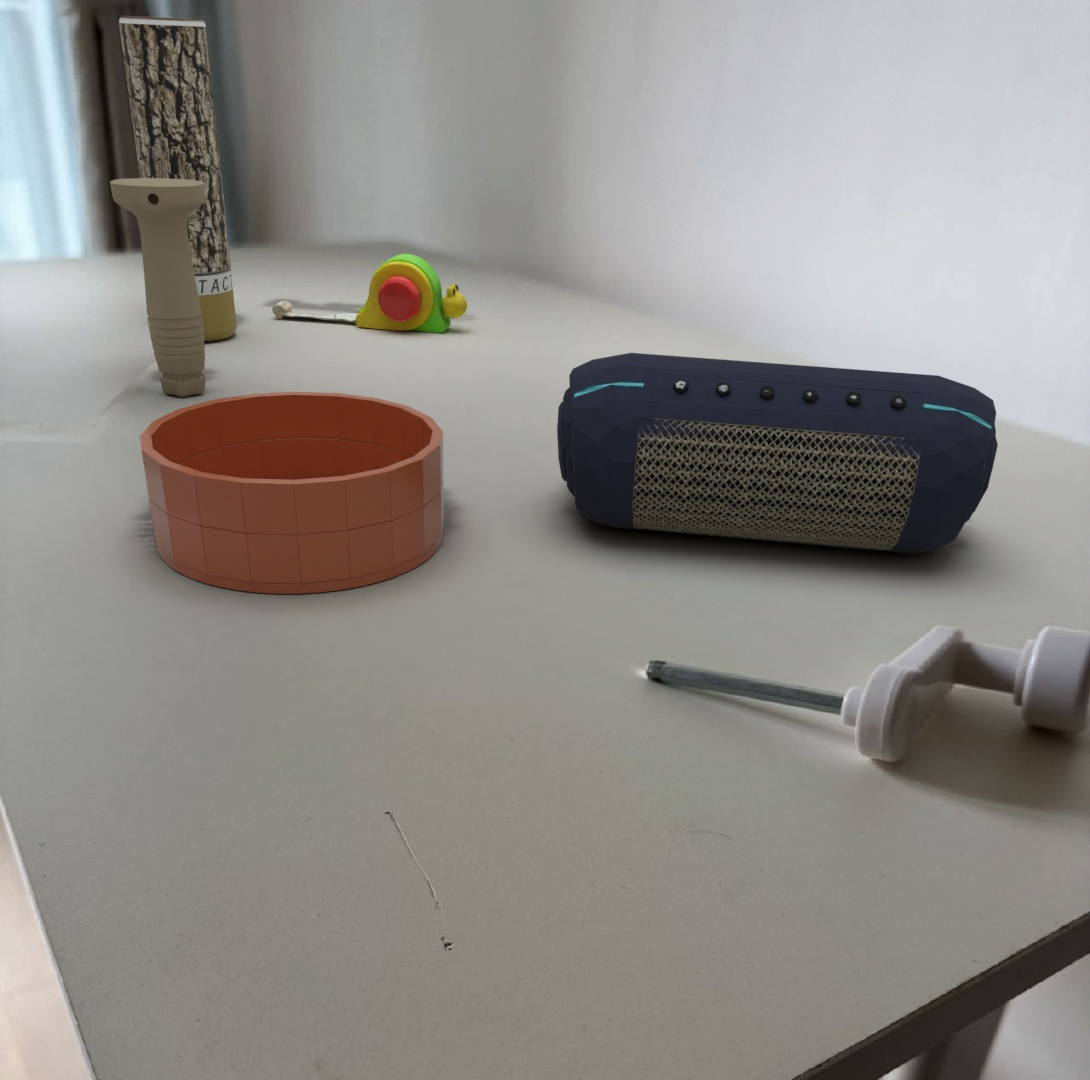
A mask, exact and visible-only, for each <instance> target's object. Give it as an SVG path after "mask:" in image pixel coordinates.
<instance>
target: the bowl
mask: <svg viewBox="0 0 1090 1080" xmlns="http://www.w3.org/2000/svg"><path fill="white" fill-rule="evenodd" d="M139 442H140V450H141V456H142V462H143V469H144V474H145V482H146V489H147V494H148V501H149V508H150V515H151V522H152V527H153V528H152V529H153V535H154V541H155V546H156V550H157V554H159V557H160V558H161V560H162V561H163V562H164V563H165V564H166V565H167V566H168V567H170V568H171V569H172V570H174V571H176V572H177V573H178V574H180V575H183V576H185V577H187V578H189V579H192V580H194V581H197V582H200V583H203V584H207V585H211V586H213V587H217V588H223V589H227V590H228V589H229V590H233V591H240V592H248V593H257V594H275V595H298V594H299V595H301V594H317V593H327V592H337V591H343V590H349V589H354V588H355V589H356V588H360V587H365V586H369V585H372V584H373V585H374V584H377V583H380V582H384V581H387V580H389V579H394V578H395V577H398V576H401V575H403V574H406V573H408V572H410V571H412V570H413V569H415V568H417V567H419V566H421V565H422V564H423V563H425V562H426V561H428V560H429V559H430V558H431V557H432V556H434V554H435V553H436V552H437V551H438V549H439V548H440V546H441V545H442V544H441V543H442V542H443V541H442V540H443V537H444V535H443V529H444V528H443V527H444V519H445V517H444V515H445V514H444V513H445V511H444V509H445V508H444V507H445V506H444V505H445V504H444V502H445V501H444V499H445V498H444V431H443V429H442V428H441V426H439V424H438V423H437V422H436V420H434V419H433V418H432V417H431V416H430V415H428V414H425V413H423V412H421V411H419V410H417V409H415V408H413V407H411V406H408V405H405V404H402V403H397V402H394V401H389V400H386V399H382V398H378V397H371V396H363V395H356V394H347V393H337V392H319V391H317V392H315V391H280V392H262V393H249V394H243V395H236V396H235V395H234V396H230V397H221V398H216V399H210V400H206V401H203V402H200V403H199V402H198V403H196V404H192V405H187V406H184V407H181V408H177V409H176V410H174V411H171V412H169V413H166V414H165V415H163V416H161V417H159V418H157V419H154V420H152V421H151V423H150V424H149V425H148V426H147V427H146V428H145V429H144V430H143V431H142V432H141V433H140V434H139Z"/></svg>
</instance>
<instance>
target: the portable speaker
mask: <svg viewBox="0 0 1090 1080" xmlns="http://www.w3.org/2000/svg"><path fill="white" fill-rule="evenodd" d="M568 377H569V378H568V379H569V387H568V388H567V389H566V390H565V391H564V394H563V397H562V401H561V402H560V404H559V406H558V409H557V410H558V411H557V426H556V436H557V437H556V438H557V457H558V465H559V469H560V476H561V478H562V480H563V481H564V482H566V488H567V490H568V491H569V493H571V495H572V496H573V497H574V506H575V508H576V510H577V511H578V514H580V515H583V516H584V517H586V518H588V519H589V520H591V521H593V522H594V523H596V524H600V525H602V526H607V527H611V528H616V529H631V530H643V531H652V532H664V533H665V532H666V533H675V534H687V535H688V534H689V535H697V536H698V535H699V536H711V537H721V538H732V539H743V540H756V541H766V542H778V543H789V544H800V545H801V544H802V545H811V546H821V547H822V546H823V547H835V548H845V549H855V550H856V549H857V550H869V551H881V552H890V553H900V554H918V553H919V554H920V553H929V552H931V551H933V550H935V549H938V548H941V547H943V546H946V545H949V544H951V543H953V542H955V541H956V539H957V537H958V536H959V534H960V533H961V531H962V529H963V527H964V526H965V523H967V522H968V521H970V519H971V517H972V516H973V514H974V513H975V512H976V511H977V508H978V507H979V504H980V503H981V501H982V499H983V497H984V496H985V493H986V492H987V490H988V488H989V484H990V481H991V476H992V473H993V469H994V464H995V461H996V455H997V450H998V447H999V444H998V440H997V436H996V435H997V430H996V417H997V409H996V405H995V402H994V400H993V399H992V398H991V397H989V396H988V395H986V394H985V393H983V392H982V391H980V390H979V389H977V388H976V387H973V386H970V385H968V384H964V383H962V382H959V381H955V380H952V379H949V378H948V377H943V376H941V375H937V374H923V373H908V372H896V371H895V372H894V371H884V370H883V371H881V370H867V369H855V368H840V367H829V366H815V365H801V364H787V363H774V362H761V361H746V360H733V359H722V358H706V357H705V358H704V357H695V356H694V357H693V356H681V355H680V356H679V355H666V354H655V353H654V354H652V353H642V352H641V353H638V352H627V353H621V354H615V355H610V356H605V357H599V358H594V359H591V360H589V361H585V362H584V363H582V364H580V365H577V366H575V367H574V368H572V369H571V371H570V373H569V375H568Z"/></svg>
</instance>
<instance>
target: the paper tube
mask: <svg viewBox="0 0 1090 1080" xmlns="http://www.w3.org/2000/svg"><path fill="white" fill-rule="evenodd" d="M206 25H207V24H206V23H205V21H204V20H203V19H199V18H182V17H179V18H178V17H161V16H136V15H133V16H131V15H122V16H120V17H119V21H118V29H119V34H120V42H121V49H122V55H123V56H122V57H123V61H124V62H123V63H124V72H125V77H126V85H127V92H128V100H129V106H130V115H131V120H132V128H133V129H132V130H133V137H134V143H135V151H136V158H137V165H138V173H139V178H164V179H185V180H196V181H202V182H204V188H205V202H204V203H203V204H202V205H201V206H200V207H198V208H197V209H195V210H194V211H192V212H191V213H190V214H189V215H188V216H187V231H188V238H189V244H190V250H191V256H192V263H193V269H194V274H195V280H196V285H197V290H198V296H199V301H200V307H201V312H202V313H201V316H202V320H203V323H202V324H203V328H204V332H203V333H204V341H206V342H215V340H216V341H221V340H226V339H229V338H231V337H232V336H233V335H235V333H236V331H237V327H238V325H237V316H236V306H235V296H234V284H233V274H232V268H231V267H232V265H231V263H232V262H231V254H230V245H229V234H228V225H227V224H228V223H227V216H226V206H225V205H226V204H225V197H224V196H225V195H224V187H223V186H224V185H223V175H222V166H221V156H220V148H219V146H220V145H219V137H218V127H217V119H216V117H217V116H216V109H215V99H214V98H215V97H214V89H213V88H214V87H213V80H212V71H211V61H210V60H211V59H210V49H209V40H208V31H207V26H206Z"/></svg>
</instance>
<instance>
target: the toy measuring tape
mask: <svg viewBox="0 0 1090 1080" xmlns="http://www.w3.org/2000/svg"><path fill="white" fill-rule="evenodd" d="M368 288H369V289H368V297H367V299H366V301H365V303H364V304H363V305H362V306H361V308H360V309H358V310H357V313H356V312H349V313H347V312H346V313H336V314H329V315H314V314H301V313H300V314H299V313H295V312H294V311H292V309H293V308H294V307H293V304H292V303H291V302H289V301H288V300H281V301H279V302H277V303H275V304H273V305H272V309H271V311H272V313H273V315H274V316H275V317H277V318H278V319H279V320H280V319H283V318H285V317H290V318H295V317H296V318H298V317H299V318H311V319H316V320H321V321H340V322H352V323H353V322H355V325H356V327H358V328H363V329H364V328H366V329H374V330H388V331H416V332H425V333H426V332H427V333H436V334H442V333H445V332H446V331H447V330H448V329H449V328H450V327H451V323H452V321H451V319H454V320H455V319H459V318H461V317H463V316H464V315H465V314H466V312H467V309H468V301H467V298H466V297H465V296H464V295H463V294H462V293H461V292H459V289H460V288H459V285H458V284H456V283H452V284H451V285H450V286H448V287H447V289H446V294H445V295H444V296H443V291H442V284H441V281H440V278H439V275H438V273H437V272H436V270H435V269H434V268H433V266H432V265H431V264H430V263H429V262H428V261H426V260H425V259H423V258H422V257H420V256H417V255H414V254H411V253H401V254H397V255H395V256H392V257H391V258H389V259H387V260H386V261H384V262H383V263H381V265H379V266H378V267H377V268H376V270H375V271H374V273H373V274H372V277H371V279H370V283H369V287H368Z"/></svg>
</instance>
